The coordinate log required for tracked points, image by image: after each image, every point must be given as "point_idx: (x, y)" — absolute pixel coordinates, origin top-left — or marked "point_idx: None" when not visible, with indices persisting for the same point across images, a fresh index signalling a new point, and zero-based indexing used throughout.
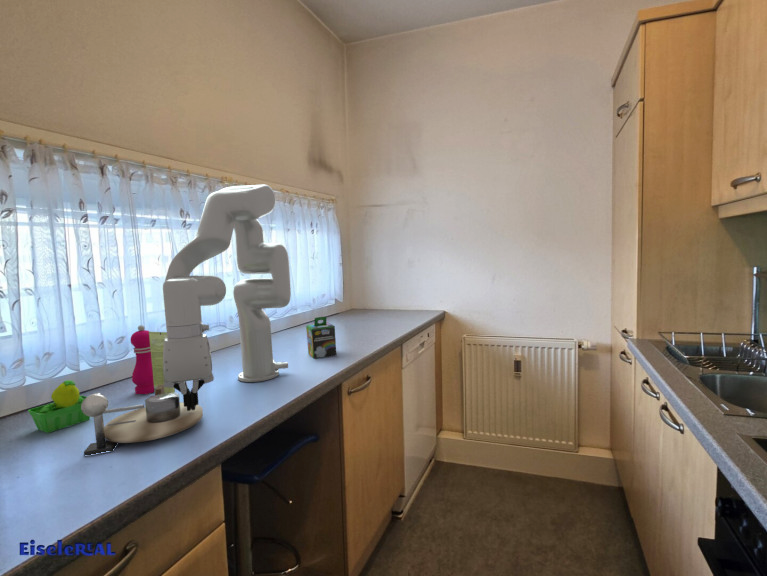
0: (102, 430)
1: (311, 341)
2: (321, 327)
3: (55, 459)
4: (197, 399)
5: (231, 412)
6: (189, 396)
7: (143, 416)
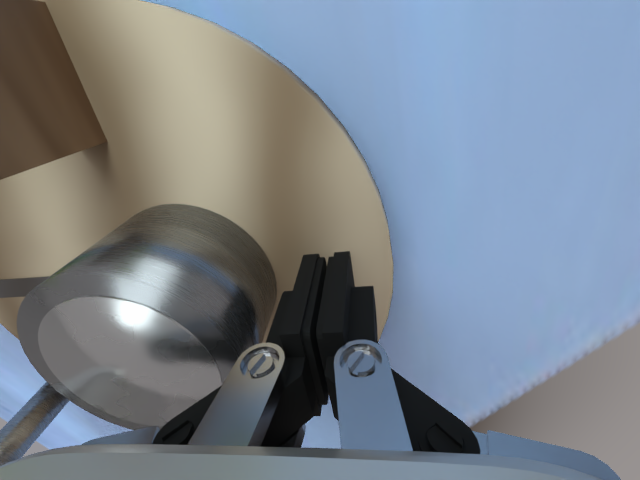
0: (53, 417)
1: None
2: None
3: (4, 360)
4: (377, 342)
5: (558, 128)
6: (328, 392)
7: (72, 236)
